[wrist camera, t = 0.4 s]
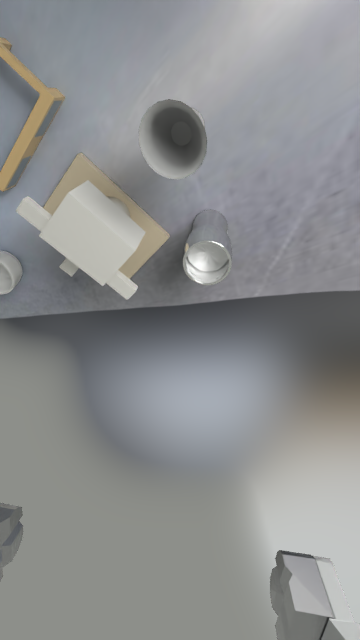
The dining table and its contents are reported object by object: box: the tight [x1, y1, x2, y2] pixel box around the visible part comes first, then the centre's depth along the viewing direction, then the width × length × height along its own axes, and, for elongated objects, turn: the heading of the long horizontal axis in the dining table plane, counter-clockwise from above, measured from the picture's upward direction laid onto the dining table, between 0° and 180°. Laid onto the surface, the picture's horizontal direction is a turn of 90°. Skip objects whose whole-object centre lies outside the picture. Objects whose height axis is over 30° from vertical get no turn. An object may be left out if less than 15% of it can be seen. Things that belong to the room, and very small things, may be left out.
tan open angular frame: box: [0, 37, 65, 192], centre depth 47 cm, size 10×17×4 cm, turn 137°
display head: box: [16, 153, 170, 300], centre depth 51 cm, size 14×20×14 cm
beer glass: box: [183, 209, 232, 285], centre depth 49 cm, size 7×7×15 cm
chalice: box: [139, 99, 207, 179], centre depth 40 cm, size 7×7×18 cm
